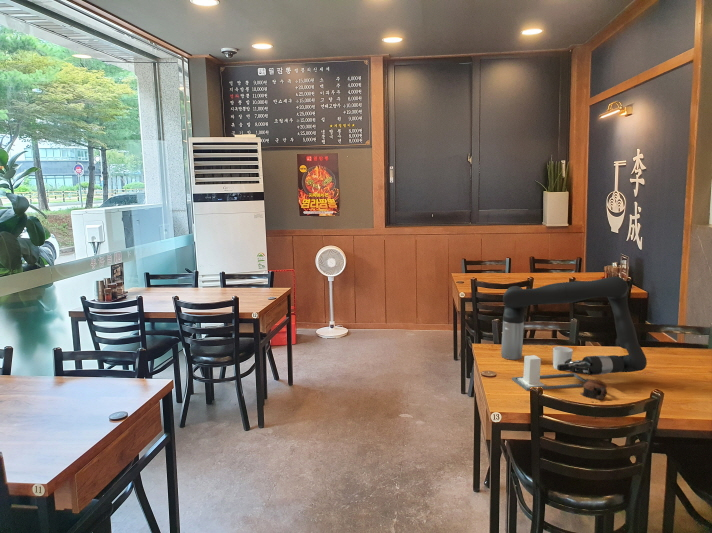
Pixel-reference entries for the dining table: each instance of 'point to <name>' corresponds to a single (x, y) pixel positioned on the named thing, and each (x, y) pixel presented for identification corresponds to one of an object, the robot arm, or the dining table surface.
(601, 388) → the dark brown lump
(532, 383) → the slider post
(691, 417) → the dining table surface
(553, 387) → the grey rectangular frame
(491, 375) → the dining table surface
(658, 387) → the dining table surface
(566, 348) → the white cup
